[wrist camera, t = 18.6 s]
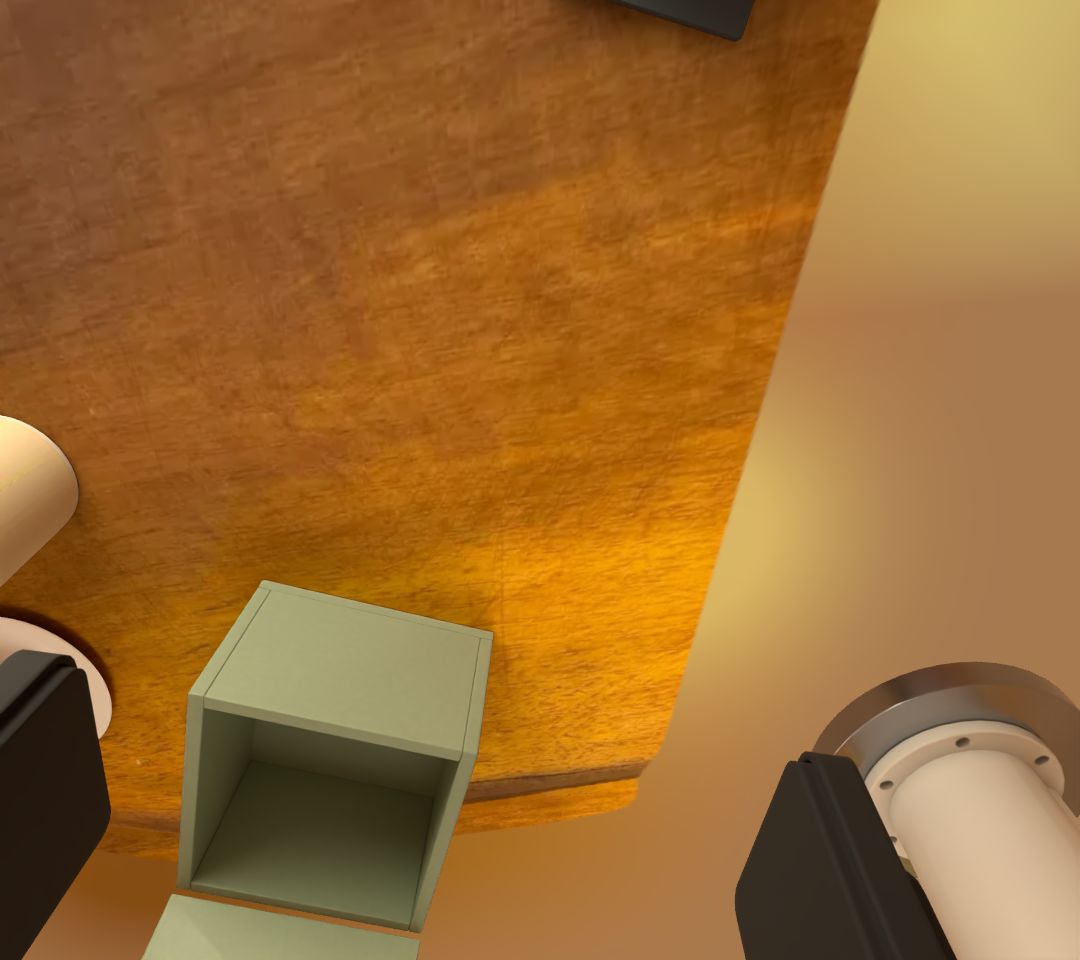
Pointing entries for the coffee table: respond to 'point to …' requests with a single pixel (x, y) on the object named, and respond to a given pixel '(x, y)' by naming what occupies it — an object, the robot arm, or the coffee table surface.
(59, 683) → the robot arm
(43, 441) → the coffee cup
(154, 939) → the lid
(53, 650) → the candle holder
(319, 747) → the grey-green open box
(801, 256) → the coffee table surface
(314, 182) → the coffee table surface
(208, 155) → the coffee table surface
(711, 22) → the mat
